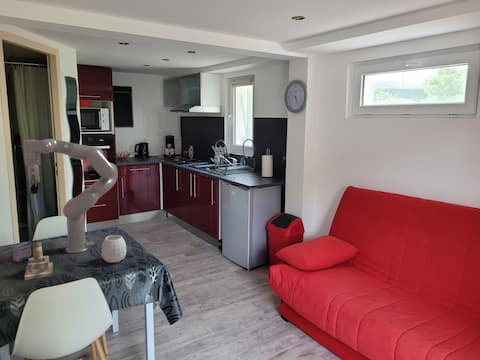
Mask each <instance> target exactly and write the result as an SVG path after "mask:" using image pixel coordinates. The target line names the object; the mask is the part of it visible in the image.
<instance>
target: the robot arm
mask: <svg viewBox="0 0 480 360" xmlns="http://www.w3.org/2000/svg"><path fill="white" fill-rule="evenodd" d="M22 146H23V156H24V165H25V166H27V175H28V181H29V183H30V194H31V195H36V194H38V193H39V192H38V191H39V189H40V188H39V183H40V182H41V177H40V176H41V175H40V166H39V165H41V154H49V153H56V154H62V155H66V156H67V157H69V158H71V159H75V160H76V159H77V160H82V161H87V162H88V163H89V165H90V166H91V167H92V168H93V169H94V170H95V172H96V173H97V174H98V175H99V176H100V178H99V179H97V180H96V181H95V182H93V183H92V184H91V185H89V186H88V187H86V188H84V189H83V190H82V191H81V193H80V194H79V195H77V196H75V197H72V198H70V199H69V200H68V201H67V202H66V203H65V205H63V208H62V213H63V215H64V217H65V218H66V226H67V227H66V228H67V242H68V246H67V247H66V248H65V252H66V253H68V254H80V253H83V252H87V251H88V250H89V248H90V246H95V242H94V241H87V239H86V223H85V220H86V217H85V214H86V213H87V211H88V210H90V209H91V208H92V207H93V206H94V205H95V204H96V203H97V202H98V200H99V199H100V198H101V197H103V195H105V194H107V192H108V191H109V190H111V189H112V188H113V187H114V185H115V184H116V182H117V180H118V176H119V175H118V174H119V172H118V168H117V165H116V164H114V163H113V162H109V161H108V159H106V158H105V155H104V152H103V150H102V149H101V148H99V147H97V146H92V145H86V144H79V143H75V142H70V141H65V140H60V139H54V138H53V139H52V138H45V139H41V140H38V139H24V140H23V141H22ZM85 212H86V213H85Z"/></svg>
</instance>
